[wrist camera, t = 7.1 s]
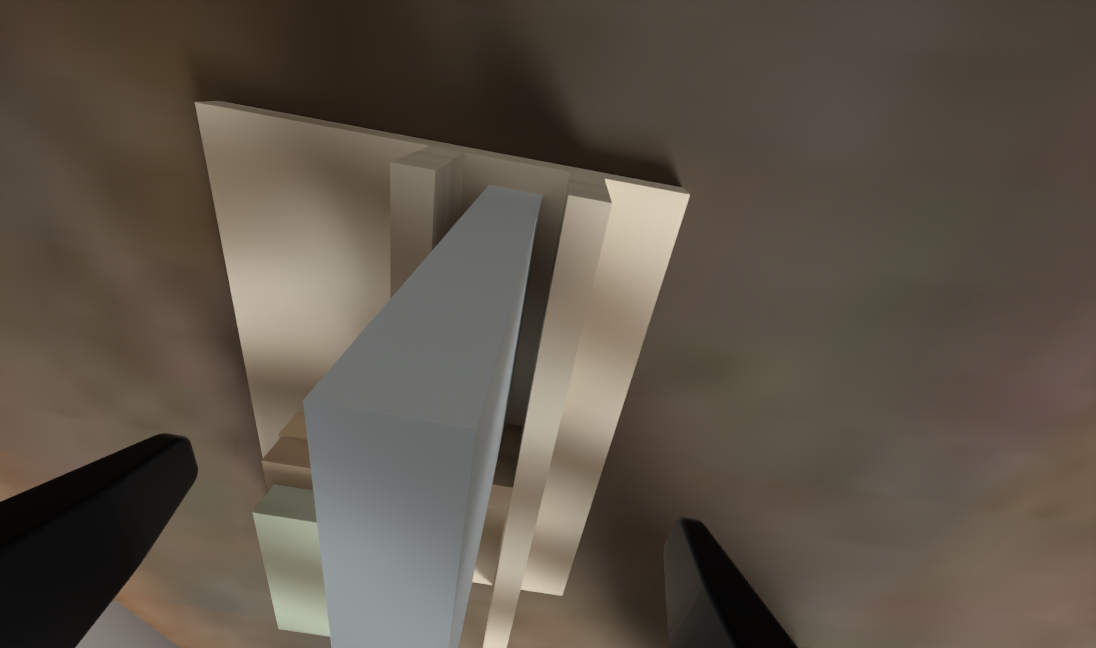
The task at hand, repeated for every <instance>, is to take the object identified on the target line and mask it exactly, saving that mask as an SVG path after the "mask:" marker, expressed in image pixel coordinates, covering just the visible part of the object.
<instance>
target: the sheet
mask: <svg viewBox="0 0 1096 648" xmlns="http://www.w3.org/2000/svg"><path fill="white" fill-rule="evenodd" d="M542 200H543V195H540V194H535V193H529V192H524V191H519V190H513V189H508V188H503V187H498V186H492V185H488V186H487V188H486V189H485V190H484V191H483V192H482V193H481V195H480V196H479V197H478V198H477V199H476V200H475V201H474V203H473V204H472V205H471V206H470V207H469V208H468V210H467V211H466V212H465V213H464V214H463V215H462V217H461V218H460V219H459V220H458V221H457V222H456V224H455V225H454V226H453V227H452V228H451V229H450V230H449V232H448V233H447V234H446V235H445V236H444V237H443V239H442V240H441V241H440V242H439V243H438V244H437V246H436V247H435V248H434V249H433V250H432V251H431V252H430V254H429V255H428V256H427V257H426V258H425V259H424V261H423V262H422V263H421V264H420V265H419V266H418V268H417V269H416V270H415V271H414V272H413V273H412V275H411V276H410V277H409V278H408V279H407V280H406V281H405V283H404V284H403V285H402V286H401V287H400V288H399V290H398V291H397V292H396V293H395V294H394V295H393V297H392V298H391V299H390V300H389V301H388V302H387V303H386V305H385V306H384V307H383V308H382V309H381V310H380V312H379V313H378V314H377V315H376V316H375V317H374V319H373V320H372V321H371V322H370V323H369V324H368V326H367V327H366V328H365V329H364V330H363V331H362V332H361V334H360V335H359V336H358V337H357V338H356V339H355V341H354V342H353V343H352V344H351V345H350V346H349V348H348V349H347V350H346V351H345V352H344V353H343V354H342V356H341V357H340V358H339V359H338V360H337V361H336V363H335V364H334V365H333V366H332V367H331V368H330V370H329V371H328V372H327V373H326V374H325V375H324V377H323V378H322V379H321V380H320V381H319V382H318V383H317V385H316V386H315V387H314V388H313V389H312V390H311V392H310V393H309V394H308V395H307V396H306V397H305V399H304V400H303V406H304V415H305V423H306V432H307V441H308V449H309V458H310V466H311V475H312V484H313V492H314V501H315V509H316V518H317V527H318V535H319V544H320V552H321V561H322V570H323V578H324V587H325V596H326V604H327V613H328V621H329V630H330V639H331V647H332V648H458V647H459V642H460V638H461V633H462V628H463V623H464V618H465V613H466V608H467V604H468V599H469V594H470V589H471V584H472V579H473V575H474V570H475V565H476V560H477V555H478V550H479V546H480V541H481V536H482V531H483V526H484V521H485V517H486V512H487V507H488V502H489V497H490V492H491V487H492V483H493V478H494V473H495V468H496V463H497V458H498V454H499V449H500V444H501V439H502V434H503V429H504V425H505V420H506V415H507V410H508V404H509V398H510V392H511V386H512V380H513V374H514V368H515V362H516V356H517V350H518V344H519V338H520V332H521V326H522V320H523V314H524V308H525V302H526V296H527V290H528V284H529V278H530V272H531V266H532V260H533V254H534V248H535V242H536V236H537V230H538V224H539V218H540V212H541V206H542Z"/></svg>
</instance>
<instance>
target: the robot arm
mask: <svg viewBox="0 0 1096 648" xmlns="http://www.w3.org/2000/svg"><path fill="white" fill-rule="evenodd" d="M197 473H198V466H197V463H196V459H195V456H194V452H193V449H192V445H191V442H190V440H189V439H188V438H187V437H185V436H180V435H174V434H167V433H163V434H158V435H155V436H153V437H150V438H148V439H146V440H143V441H141V442H139V443H136V444H134V445H132V446H129V447H127V448H125V449H122V450H120V451H118V452H115V453H113V454H111V455H108V456H106V457H104V458H101V459H99V460H97V461H94V462H92V463H90V464H87V465H85V466H83V467H80V468H78V469H76V470H73V471H71V472H69V473H66V474H64V475H62V476H59V477H57V478H55V479H52V480H50V481H48V482H45V483H43V484H41V485H38V486H36V487H34V488H31V489H29V490H27V491H24V492H22V493H20V494H17V495H15V496H13V497H10V498H8V499H6V500H3V501H1V502H0V648H75V647H76V646H77V645H78V643H79V642H80V640H82V638H83V637H84V636H85V635H86V633H87V632H88V631H89V629H90V628H91V626H92V625H93V624H94V623H95V622H96V620H97V619H98V618H99V617H100V615H101V614H102V613H103V612H104V610H105V609H106V608H107V607H108V605H109V604H110V603H111V601H112V600H113V599H114V598H115V596H116V595H117V594H118V593H119V591H120V590H121V589H122V587H123V586H124V585H125V584H126V582H127V581H128V580H129V579H130V577H131V576H132V575H133V573H134V572H135V571H136V569H137V568H138V567H139V565H140V564H141V562H142V561H143V559H144V558H145V557H146V555H147V554H148V552H149V551H150V549H151V548H152V546H153V545H154V543H155V542H156V540H157V539H158V537H159V536H160V534H161V532H162V531H163V529H164V528H165V526H166V525H167V523H168V522H169V520H170V519H171V517H172V516H173V514H174V513H175V511H176V510H177V508H178V506H179V505H180V503H181V502H182V500H183V499H184V497H185V496H186V494H187V493H188V491H189V490H190V488H191V487H192V485H193V483H194V482H195V480H196V477H197ZM663 558H664V575H665V591H666V607H667V623H668V637H669V648H798V647H797V646H796V644H795V643H794V642H793V641H792V639H791V638H790V637H789V635H788V634H787V633H786V631H785V630H784V629H783V627H782V626H781V625H780V623H779V622H778V621H777V620H776V618H775V617H774V616H773V614H772V613H771V612H770V610H769V609H768V608H767V606H766V605H765V604H764V602H763V601H762V600H761V599H760V597H759V596H758V595H757V593H756V592H755V591H754V589H753V588H752V587H751V585H750V584H749V583H748V581H747V580H746V579H745V578H744V576H743V575H742V574H741V572H740V571H739V570H738V568H737V567H736V566H735V564H734V563H733V562H732V561H731V559H730V558H729V557H728V555H727V554H726V553H725V551H724V550H723V549H722V547H721V546H720V545H719V543H718V542H717V541H716V540H715V538H714V537H713V536H712V534H711V533H710V532H709V530H708V529H707V528H706V526H705V525H704V524H703V523H702V522H701V521H699V520H696V519H690V518H684V517H680V518H678V519H677V520H676V522H675V524H674V526H673V528H672V530H671V532H670V534H669V536H668V539H667V541H666V543H665V546H664V554H663Z"/></svg>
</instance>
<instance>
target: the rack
mask: <svg viewBox="0 0 1096 648" xmlns="http://www.w3.org/2000/svg"><path fill="white" fill-rule="evenodd" d="M195 106H196V112H197V117H198V122H199V127H200V133H201V138H202V143H203V148H204V153H205V159H206V164H207V169H208V174H209V180H210V185H211V190H212V195H213V201H214V206H215V211H216V216H217V222H218V227H219V232H220V237H221V242H222V248H223V253H224V258H225V263H226V269H227V274H228V279H229V284H230V290H231V295H232V300H233V305H234V311H235V316H236V321H237V326H238V331H239V337H240V342H241V347H242V352H243V358H244V363H245V368H246V373H247V379H248V384H249V389H250V394H251V400H252V405H253V410H254V415H255V420H256V426H257V431H258V436H259V441H260V447H261V452H262V457H263V458H264V457H265V456H266V454H267V453H268V452H269V451H270V450H271V448H272V447H273V446H274V445H275V444H276V442H277V441H278V440H279V435H278V434H279V433H280V431H281V430H282V429H283V428H284V427H285V426H286V424H287V423H288V422H289V421H290V420H291V419H292V417H293V416H294V415H295V414H296V413H301V414H304V406H303V400H304V399H305V397H306V396H307V395H308V394H309V393H310V392H311V390H312V389H313V388H314V387H315V386H316V385H317V383H318V382H319V381H320V380H321V379H322V378H323V377H324V375H325V374H326V373H327V372H328V371H329V370H330V368H331V367H332V366H333V365H334V364H335V363H336V361H337V360H338V359H339V358H340V357H341V356H342V354H343V353H344V352H345V351H346V350H347V349H348V348H349V346H350V345H351V344H352V343H353V342H354V341H355V339H356V338H357V337H358V336H359V335H360V334H361V332H362V331H363V330H364V329H365V328H366V327H367V326H368V324H369V323H370V322H371V321H372V320H373V319H374V317H375V316H376V315H377V314H378V313H379V312H380V310H381V309H382V308H383V307H384V306H385V305H386V303H387V302H388V301H389V300H390V299H391V298H392V297H393V295H394V294H395V293H396V292H397V291H398V290H399V288H400V287H401V286H402V285H403V284H404V283H405V281H406V280H407V279H408V278H409V277H410V276H411V275H412V273H413V272H414V271H415V270H416V269H417V268H418V266H419V265H420V264H421V263H422V262H423V261H424V259H425V258H426V257H427V256H428V255H429V254H430V252H431V251H432V250H433V249H434V248H435V247H436V246H437V244H438V243H439V242H440V241H441V240H442V239H443V237H444V236H445V235H446V234H447V233H448V232H449V230H450V229H451V228H452V227H453V226H454V225H455V224H456V222H457V221H458V220H459V219H460V218H461V217H462V215H463V214H464V213H465V212H466V211H467V210H468V208H469V207H470V206H471V205H472V204H473V203H474V201H475V200H476V199H477V198H478V197H479V196H480V195H481V193H482V192H483V191H484V190H485V189H486V188H487V186H488V185H492V186H498V187H503V188H508V189H513V190H519V191H524V192H529V193H535V194H540V195H543V200H542V206H541V212H540V218H539V224H538V230H537V236H536V242H535V248H534V254H533V260H532V266H531V272H530V278H529V284H528V290H527V296H526V302H525V308H524V314H523V320H522V326H521V332H520V338H519V344H518V350H517V356H516V362H515V368H514V374H513V380H512V386H511V392H510V398H509V404H508V410H507V415H506V420H505V425H504V429H503V434H502V439H501V444H500V449H499V454H498V458H497V463H496V468H495V473H494V478H493V483H492V487H491V492H490V497H489V502H488V507H487V512H486V517H485V521H484V526H483V531H482V536H481V541H480V546H479V550H478V555H477V560H476V565H475V570H474V575H473V579H472V582H475V583H482V584H488V585H493V589H492V595H491V601H490V607H489V613H488V619H487V625H486V631H485V638H484V644H483V648H507V644H508V640H509V636H510V631H511V627H512V623H513V619H514V615H515V610H516V606H517V602H518V598H519V594H520V590H527V591H533V592H540V593H546V594H553V595H559V596H562V595H563V592H564V589H565V586H566V583H567V580H568V576H569V573H570V570H571V567H572V564H573V561H574V558H575V554H576V551H577V548H578V545H579V542H580V539H581V536H582V532H583V529H584V526H585V523H586V520H587V517H588V514H589V510H590V507H591V504H592V501H593V498H594V495H595V492H596V489H597V485H598V482H599V479H600V476H601V473H602V470H603V467H604V463H605V460H606V457H607V454H608V451H609V448H610V445H611V441H612V438H613V435H614V432H615V429H616V426H617V423H618V419H619V416H620V413H621V410H622V407H623V404H624V401H625V397H626V394H627V391H628V388H629V385H630V382H631V379H632V375H633V372H634V369H635V366H636V363H637V360H638V357H639V353H640V350H641V347H642V344H643V341H644V338H645V335H646V332H647V328H648V325H649V322H650V319H651V316H652V313H653V310H654V306H655V303H656V300H657V297H658V294H659V291H660V288H661V284H662V281H663V278H664V275H665V272H666V269H667V266H668V262H669V259H670V256H671V253H672V250H673V247H674V244H675V240H676V237H677V234H678V231H679V228H680V225H681V222H682V218H683V215H684V212H685V209H686V206H687V203H688V200H689V196H690V194H689V193H688V192H687V191H686V190H685V189H684V188H683V187H677V186H672V185H667V184H661V183H656V182H650V181H645V180H640V179H634V178H629V177H624V176H618V175H613V174H608V173H602V172H597V171H592V170H586V169H581V168H576V167H570V166H565V165H560V164H554V163H549V162H544V161H538V160H533V159H528V158H522V157H517V156H512V155H506V154H501V153H496V152H490V151H485V150H480V149H474V148H469V147H464V146H458V145H453V144H448V143H442V142H437V141H432V140H426V139H421V138H416V137H410V136H405V135H400V134H394V133H389V132H384V131H378V130H373V129H368V128H362V127H357V126H352V125H346V124H341V123H336V122H330V121H325V120H320V119H314V118H309V117H304V116H298V115H293V114H288V113H282V112H277V111H272V110H266V109H261V108H255V107H250V106H245V105H239V104H234V103H229V102H223V101H206V102H195Z"/></svg>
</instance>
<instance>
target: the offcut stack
mask: <svg viewBox="0 0 1096 648" xmlns="http://www.w3.org/2000/svg"><path fill="white" fill-rule="evenodd" d="M278 435H279V440H278V441H277V442H276V444H275V445H274V446H273V447H272V448H271V450H270V451H269V452H268V453H267V454H266V456H265V457H264V458H263V459H262V460H261V462H262V467H263V472H264V477H265V483H266V488H267V494H266V495H265V497H264V498H263V499H262V501H261V502H260V503H259V505H258V506H257V507H256V509H255V510H254V511H253V517H254V521H255V526H256V530H257V535H258V539H259V544H260V548H261V553H262V557H263V562H264V566H265V570H266V575H267V579H268V584H269V588H270V593H271V597H272V602H273V606H274V611H275V615H276V620H277V624H278V628H279V629H283V630H289V631H296V632H303V633H310V634H316V635H323V636H330V630H329V621H328V613H327V604H326V596H325V587H324V578H323V570H322V561H321V552H320V544H319V535H318V527H317V518H316V509H315V501H314V492H313V484H312V475H311V466H310V458H309V449H308V441H307V432H306V423H305V415H304V414H301V413H296V414H295V415H294V416H293V417H292V419H291V420H290V421H289V422H288V423H287V424H286V426H285V427H284V428H283V429H282V430H281V431H280V433H279V434H278Z"/></svg>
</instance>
